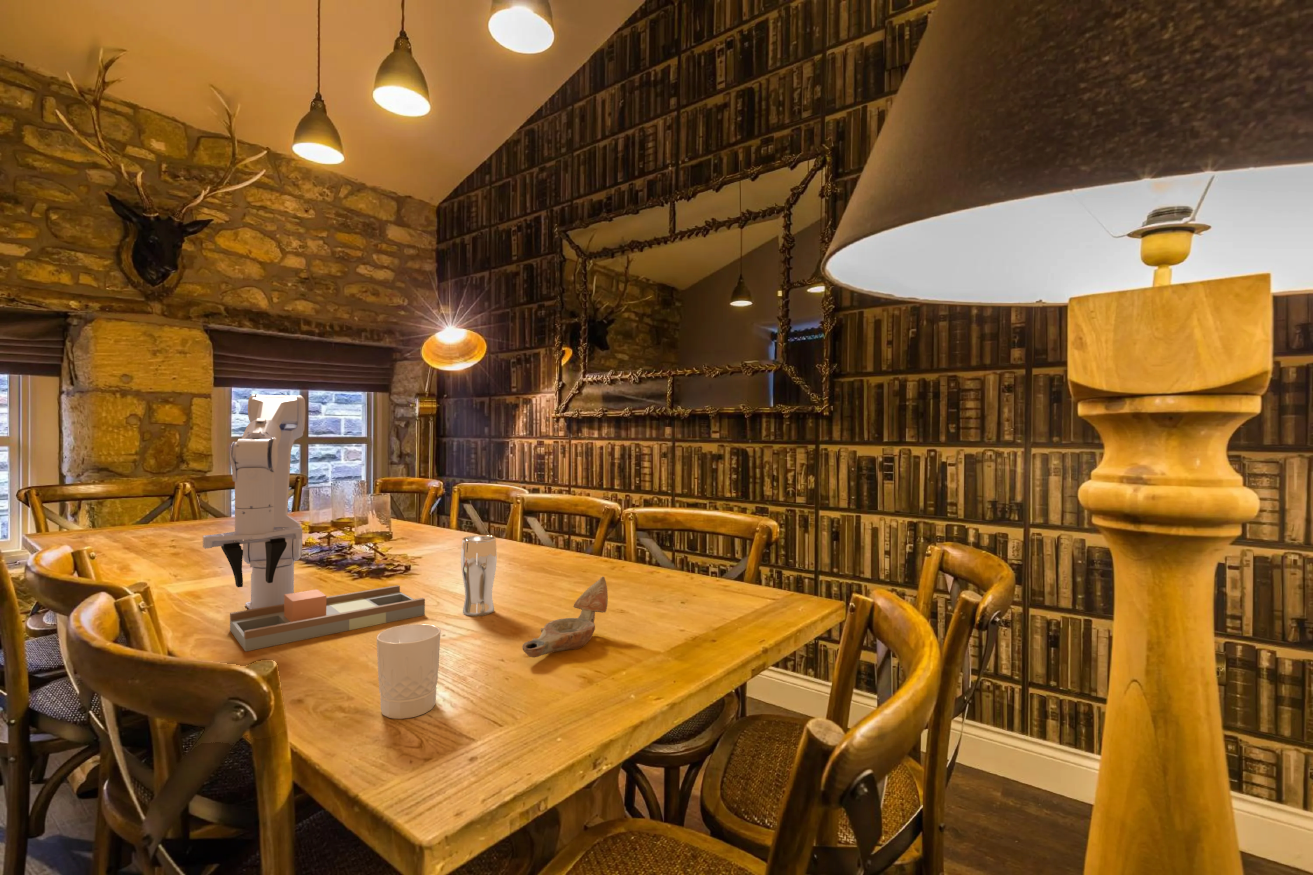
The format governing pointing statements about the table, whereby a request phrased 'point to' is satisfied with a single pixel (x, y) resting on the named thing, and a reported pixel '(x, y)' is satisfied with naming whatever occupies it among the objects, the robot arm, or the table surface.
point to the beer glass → (478, 573)
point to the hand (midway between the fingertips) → (254, 583)
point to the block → (304, 605)
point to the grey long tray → (324, 617)
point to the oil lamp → (571, 624)
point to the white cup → (408, 669)
